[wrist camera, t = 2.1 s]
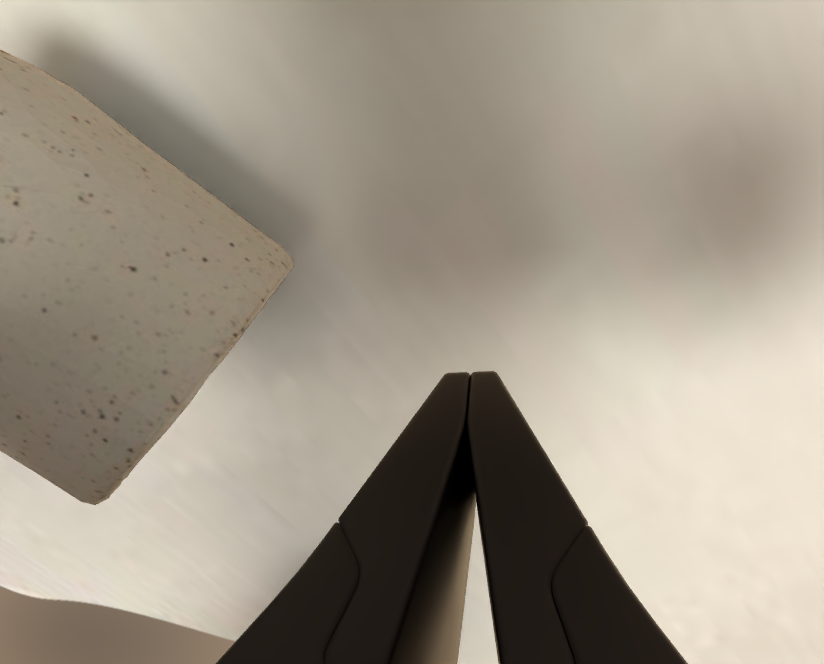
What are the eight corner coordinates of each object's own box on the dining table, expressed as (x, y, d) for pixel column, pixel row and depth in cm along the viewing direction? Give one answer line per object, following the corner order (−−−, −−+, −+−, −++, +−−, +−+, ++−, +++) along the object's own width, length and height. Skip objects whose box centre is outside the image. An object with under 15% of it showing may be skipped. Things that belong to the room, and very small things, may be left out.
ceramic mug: (44, -10, 12) (-417, 41, 6) (329, 215, 15) (208, 412, 8) (-36, 274, 18) (-315, 449, 12) (180, 401, 20) (42, 600, 14)
